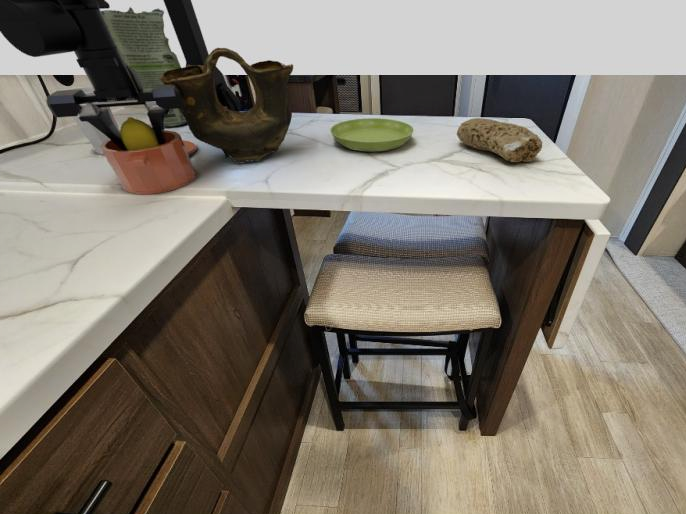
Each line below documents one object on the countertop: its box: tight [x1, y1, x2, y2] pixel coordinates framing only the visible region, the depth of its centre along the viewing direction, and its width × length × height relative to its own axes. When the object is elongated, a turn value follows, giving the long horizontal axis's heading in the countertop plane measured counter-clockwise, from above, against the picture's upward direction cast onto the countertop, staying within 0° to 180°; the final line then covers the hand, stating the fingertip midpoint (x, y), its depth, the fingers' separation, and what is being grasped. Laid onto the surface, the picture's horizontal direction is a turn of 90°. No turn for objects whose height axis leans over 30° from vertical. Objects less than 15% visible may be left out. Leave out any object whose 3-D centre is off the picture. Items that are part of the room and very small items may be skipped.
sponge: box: [456, 117, 543, 163], centre depth 77 cm, size 13×8×20 cm
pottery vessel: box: [159, 47, 294, 164], centre depth 69 cm, size 25×11×20 cm, turn 116°
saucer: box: [329, 117, 415, 153], centre depth 83 cm, size 21×21×3 cm
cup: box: [59, 86, 121, 155], centre depth 74 cm, size 8×8×12 cm
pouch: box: [100, 6, 187, 127], centre depth 86 cm, size 11×12×25 cm
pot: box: [99, 129, 197, 195], centre depth 63 cm, size 13×18×8 cm
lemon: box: [119, 116, 160, 151], centre depth 60 cm, size 6×6×8 cm
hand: (147, 152), depth 62 cm, fingers closed on lemon, 5 cm apart
